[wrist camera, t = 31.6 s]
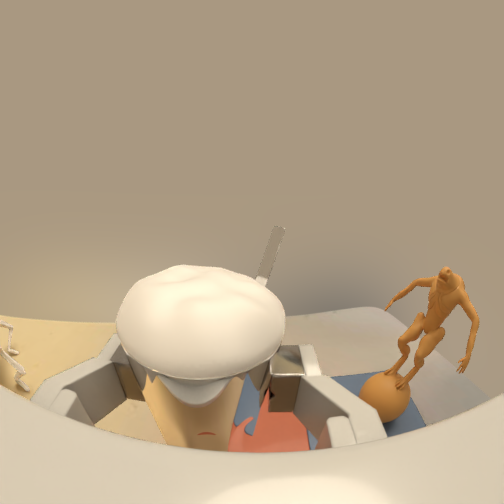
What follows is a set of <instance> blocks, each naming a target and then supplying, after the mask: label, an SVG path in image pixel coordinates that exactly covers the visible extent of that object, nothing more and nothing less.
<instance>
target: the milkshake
mask: <svg viewBox="0 0 504 504" xmlns="http://www.w3.org/2000/svg"><path fill="white" fill-rule="evenodd" d="M284 232H285V228H282V227H278V226H274V228H273V230H272V233H271V236H270V239H269V242H268V245H267V248H266V250H265V253H264V256H263V259H262V262H261V264H260V267H259V270H258V273H257V276H256V279H255V280H254V279H252V278H250V277H248V276H246V275H242V274H239V273H235V272H232V271H230V270H227V269H224V268H219V267H203V266H190V265H177V266H173V267H170V268H168V269H166V270H163V271H161V272H158V273H156V274H153V275H151V276H148V277H145V278H143V279H141V280H139V281H137V282H136V283H135V284H134V285H133V286H132V287H131V289H130V290H129V291H128V293H127V294H126V296H125V298H124V300H123V302H122V305H121V307H120V309H119V311H118V314H117V318H116V329H117V333H118V336H119V339H120V342H121V345H122V347H123V350H124V353H125V355H126V358H127V360H128V363H129V365H130V368H131V370H132V372H133V375H134V377H135V379H136V382H137V384H138V386H139V388H140V390H141V393H142V395H143V397H144V399H145V401H146V403H147V405H148V407H149V409H150V411H151V413H152V415H153V417H154V419H155V421H156V423H157V426H158V428H159V430H160V432H161V434H162V436H163V438H164V440H165V442H166V444H167V445H172V446H179V447H185V448H193V449H202V450H212V451H226V452H249V450H250V446H251V443H252V439H253V435H254V432H255V428H256V425H257V421H258V418H259V414H260V411H261V408H262V405H263V402H264V399H265V397H266V394H267V390H268V387H269V384H270V381H271V377H272V374H273V371H274V367H275V364H276V360H277V357H278V353H279V350H280V346H281V343H282V339H283V336H284V332H285V312H284V308H283V306H282V304H281V302H280V301H279V299H278V298H277V297H276V296H275V295H274V294H273V293H272V292H271V291H269V290H268V289H267V288H265V287H266V284H267V281H268V278H269V276H270V273H271V270H272V267H273V264H274V262H275V259H276V256H277V253H278V250H279V247H280V244H281V242H282V238H283V236H284Z"/></svg>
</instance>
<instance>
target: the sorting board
mask: <svg viewBox="0 0 504 504" xmlns="http://www.w3.org/2000/svg"><path fill="white" fill-rule="evenodd" d="M381 372H385V371H380V372H373V373H365V374H356V375H347V376H335V377H330V378H332V379H333V380H335V381H336V382H337V383H339V384H340V385H342V386H343V387H344V388H346V389H347V390H349V391H350V392H351V393H353V394H354V395H356V396H357V397H359V393H360V390H361V388H362V386H363V385H364V383H365V382H366V381H367V380H368V379H369V378H370V377H372V376H374V375H375V374H378V373H381ZM267 397H268V390H267V394H266V397H265V399H264V402H263V405H262V408H261V411H260V414H259V418H258V421H257V425H256V428H255V432H254V435H253V439H252V443H251V446H250V450H249V452H253V453H266V452H293V451H307V450H315V447H316V445H317V443H318V440H317V439H316V438H315V437H314V436H313V435H312V434H311V433H310V432H309V430H308V429H307V428H306V427H305V426H304V425H303V424H302V423H301V422H300V421H299V419H298V418H297V417H296V416H295V415H294V414H293V412H268V400H267ZM382 424H383V427H384V429H385V432H386V434H387V437H391V436H395V435H399V434H403V433H406V432H410V431H413V430H416V429H419V428H423V427H426V425H425V423H424V421H423V419H422V417H421V415H420V413H419V411H418V409H417V408H416V406H415V404H414V402H413V400H412V398H411V396H410V401H409V404H408V406H407V408H406V409H405V411H404V412H403V413H402V414H401V415H400V416H399V417H398V418H396V419H394V420H392V421H390V422H386V423H382Z"/></svg>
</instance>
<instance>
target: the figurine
mask: <svg viewBox="0 0 504 504" xmlns="http://www.w3.org/2000/svg"><path fill="white" fill-rule="evenodd" d="M416 286H421V287H431V289H430V292H429V297H428V299H429V304H428V312H427V315H426V317H425V316H424V313H422V312H420V313H418V314H417V316H416V318H415V320H414V322H413V324H412V325H411V326H410V327H409V328H408V329H407V331H406V332H405V333H404V334H403V335H402V336H401V337H400V338H399V339H398V347H399V349H400V351H401V353H402V354H403V356H402V357H401V358H400V359H399V360H398V361H397V363H396V364H395V365H394V366H393V367H392V368H390V369H388V370H386V371H385V372H381V373H378V374H375V375H374V376H372V377H370V378H369V379H368V380H367V381H366V382H365V383H364V385H363V386H362V388H361V390H360V393H359V398H360V399H361V400H363V401H364V402H366V403H367V404H369V405H370V406H372V407H373V408H375V409H376V410H377V412H378V415H379V417H380V420H381V422H382V423H386V422H390V421H392V420H394V419H396V418H398V417H399V416H400V415H401V414H402V413H403V412H404V411H405V409H406V408H407V406H408V404H409V401H410V387H409V384H408V382H409V381H410V380H411V379H412V378H413V377H414V375H415V374H416V373H417V372H418V370H419V369H420V368H421V367H422V366H423V365H424V358H425V357H426V356H428V355H429V354H430V353H431V352H432V351H433V349H434V348H435V346H436V345H437V344H438V343H439V342H440V341H441V340H442V339H443V337H444V335H445V330H444V328H442V327H440V325H441V324H442V323H443V321H444V320H445V318H446V317H447V316H449V314H450V313H451V311H452V310H453V309H454V308H455V306H456V305H457V304H459V305H461V307H462V308H463V310H464V311H465V312H466V314H467V316H468V317H469V318H470V319H471V321H472V326H471V331H470V336H469V339H468V343H467V348H466V349H467V350H466V356H465V357H464V358H462V359H461V360H459V361H458V363H459V362H461V361H462V364H461V365H460V367H459V368H458V369H457V371H458V370H459V369H460V368H461V367H462V369H461V370H460V372H459V374H460V373H461V372H462V373H463V372H464V371H465V369H466V367H467V365H468V363H469V360H470V356H471V352H472V349H473V347H474V342H475V337H476V333H477V330H478V327H479V317H478V315H477V313H476V311H475V309H474V307H473V305H472V304H471V302H470V300H469V297H468V295H467V293H466V292H465V285H464V281H463V279H462V278H461V277H460V276H459V275H457V274H453V273H452V271H451V270H450V269H449V268H448V267H444V268H443V269H442V270H441V271H440V273H439V275H438V276H434V277H431V278H419V279H416V280H414V281H413V282H412V283H411V284H410V285H409V286H408V287H407V288H405V289H404V290H402V291H401V292H399V293H398V294H397V295H396V296H395V297H394V298H393V299H392V300H391V301H390V302H389V304H388V305H387V307H386V309H385V311H386V310H387V309H388V307H390V306H391V304H392V303H393V302H395V301H396V300H398V299H400V298H402V297H404V296H405V295H406V294H408V293H409V292H410V291H412V290H413V289H414V288H415V287H416ZM423 330H424V332H425V333H426V335H425V336H424V337H423V338H422V339H421V341H420V343H419V347H418V349H417V351H416V353H415V358H414V365H415V367H414V368H413V369H412V370H411V371H410V372H409V373H408V374H407V375H406V376H405V377H403V376H401V375H400V374H398V373H397V371H398V370H399V369H400V367H401V366H402V365H403V363H404V362H405V361H406V359H407V358H408V354H409V353H410V347H409V346H408V345H406V344H407V343H409V342H410V341H415V340H417V339H418V338H419V336H420V334H421V333H422V331H423ZM463 369H464V370H463ZM462 370H463V371H462ZM457 371H456V372H457Z"/></svg>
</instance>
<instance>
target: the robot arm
mask: <svg viewBox="0 0 504 504" xmlns="http://www.w3.org/2000/svg"><path fill="white" fill-rule="evenodd" d="M126 398H127V399H133V400H139V401H145V399H144V397H143V395H142V393H141V390H140V388H139V386H138V384H137V382H136V379H135V377H134V375H133V372H132V370H131V368H130V365H129V363H128V360H127V358H126V355H125V353H124V350H123V347H122V345H121V342H120V339H119V336H118V333H114V334H113V335H112V337H111V338H110V339H109V341H108V342H107V344H106V345H105V347H104V348H103V349H102V351H101V352H100V354H99V355H98V357H97V358H94V357H93V358H91V359H89V360H86V361H84V362H82V363H80V364H78V365H76V366H74V367H72V368H69V369H67V370H65V371H63V372H61V373H59V374H56V375H54V376H52V377H50V378H48V379H45V380H44V381H43V383H42V384H41V385H40V387H39V388H38V389H37V391H36V392H35V394H34V395H33V396H32V398H31V399H30V400H28V399H26V398H24V397H22V396H20V395H18V394H16V393H14V392H12V391H11V390H9V389H7V388H5V387H4V386H2V385H0V504H504V393H502V394H500V395H498V396H496V397H495V398H493V399H491V400H489V401H487V402H485V403H483V404H481V405H478V406H476V407H474V408H472V409H470V410H467V411H465V412H463V413H461V414H458V415H456V416H453V417H451V418H448V419H445V420H443V421H440V422H437V423H434V424H432V425H429V426H426V427H423V428H419V429H416V430H413V431H410V432H406V433H403V434H399V435H395V436H391V437H387V434H386V432H385V429H384V427H383V424H382V422H381V420H380V417H379V415H378V412H377V410H376V409H375V408H373V407H372V406H370V405H369V404H367V403H366V402H364V401H363V400H361V399H360V398H359V397H357V396H356V395H354V394H353V393H351V392H350V391H349V390H347V389H346V388H344V387H343V386H342V385H340V384H339V383H337V382H336V381H335V380H333V379H332V378H330V377H329V376H328V375H322V372H321V368H320V365H319V362H318V358H317V355H316V352H315V349H314V346H313V345H312V344H305V345H286V346H280V350H279V353H278V357H277V360H276V364H275V367H274V371H273V374H272V377H271V381H270V384H269V387H268V397H267V400H268V412H293V414H294V415H295V416H296V417H297V418H298V419H299V421H300V422H301V423H302V424H303V425H304V426H305V427H306V428H307V429H308V430H309V432H310V433H311V434H312V435H313V436H314V437H315V438H316V439H317V440H318V443H317V445H316V447H315V450H307V451H293V452H266V453H253V452H226V451H212V450H202V449H193V448H185V447H179V446H172V445H166V444H161V443H155V442H150V441H146V440H141V439H137V438H133V437H128V436H125V435H121V434H117V433H113V432H110V431H107V430H103V429H100V428H97V427H95V425H94V424H95V423H97V422H98V421H99V420H101V419H102V418H103V417H105V416H106V415H107V414H109V413H110V412H111V411H113V410H114V409H115V408H116V407H118V406H119V405H120V404H122V403H123V402H124V401H125V400H127V399H126ZM145 402H146V401H145Z"/></svg>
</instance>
